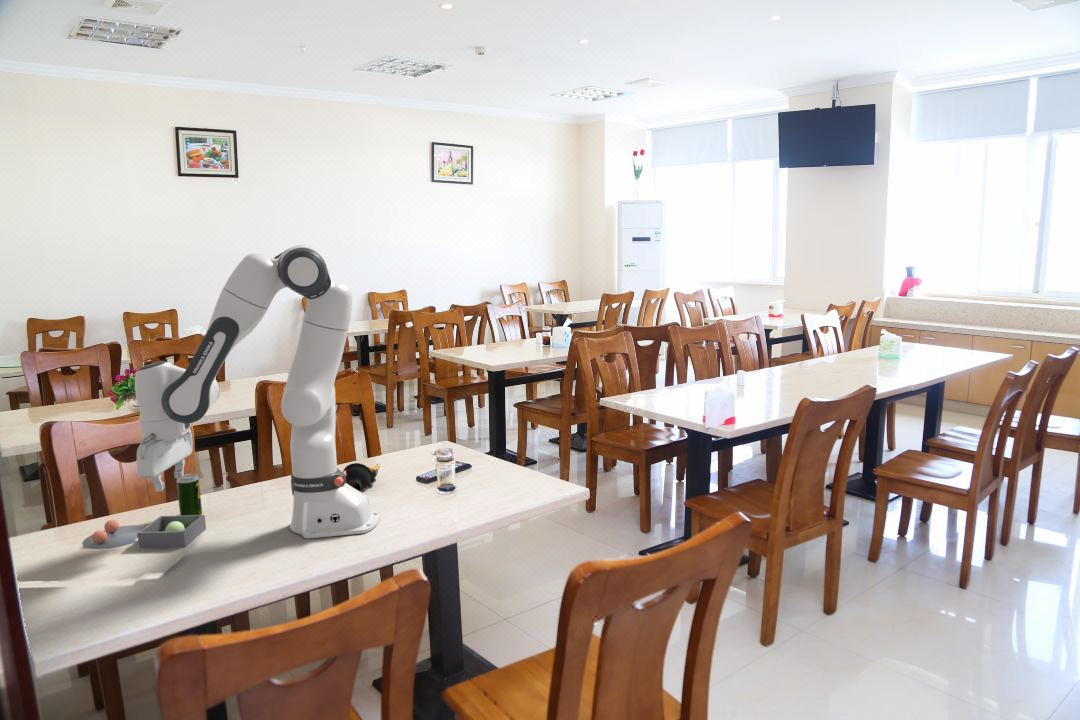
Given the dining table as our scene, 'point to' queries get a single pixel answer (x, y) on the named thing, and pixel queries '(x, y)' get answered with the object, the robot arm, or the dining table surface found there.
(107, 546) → the slate plate
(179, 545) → the bin
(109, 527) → the tomato
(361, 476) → the fried shrimp in bowl
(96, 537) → the tomato
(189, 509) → the beer can
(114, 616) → the dining table surface
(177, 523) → the lettuce ball
